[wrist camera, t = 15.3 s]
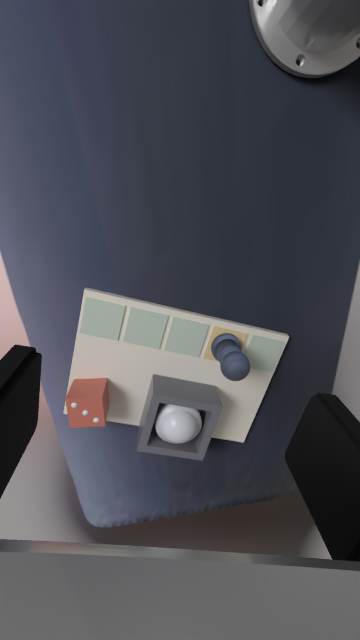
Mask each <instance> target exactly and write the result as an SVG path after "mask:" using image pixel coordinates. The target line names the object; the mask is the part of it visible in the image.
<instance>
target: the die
mask: <svg viewBox="0 0 360 640" xmlns="http://www.w3.org/2000/svg"><path fill="white" fill-rule="evenodd" d="M65 401H66V407H67V413H68V419H69V426H70V428H78V427H97V426H105V424H106V420H107V415H108V410H109V406H110V402H109V392H108V381H107V378H90V379H74V380H73V383H72V385H71V387H70V389H69V392H68V394H67V396H66V398H65Z"/></svg>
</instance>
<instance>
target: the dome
mask: <svg viewBox="0 0 360 640" xmlns="http://www.w3.org/2000/svg"><path fill="white" fill-rule="evenodd" d="M155 424H156V432H157V434H158V435H159V437H160V438H162V439H163V440H164V441H166V442H169V443H174V444H180V443H185V442H188V441H190V440H192V439H193V438H195V437H196V436H197V435H198V433H199V432H200V430H201V426H202V421H201V417H200V412H199V409H193V408H187V407H182V406H176V405H170V404H164V403H159V406H158V409H157V413H156V416H155Z"/></svg>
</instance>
